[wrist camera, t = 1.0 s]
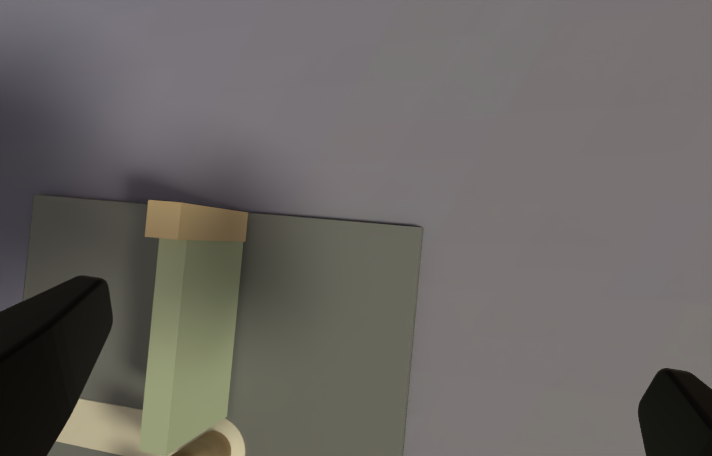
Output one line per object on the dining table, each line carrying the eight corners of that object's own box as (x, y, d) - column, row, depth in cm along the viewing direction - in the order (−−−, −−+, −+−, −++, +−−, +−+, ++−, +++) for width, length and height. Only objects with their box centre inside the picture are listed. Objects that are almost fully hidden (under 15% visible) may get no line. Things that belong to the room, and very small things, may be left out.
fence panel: (228, 416, 25) (156, 465, 20) (202, 412, 26) (123, 457, 20) (248, 212, 26) (181, 202, 20) (221, 210, 26) (148, 199, 20)
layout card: (377, 740, 24) (375, 750, 23) (-3, 619, 29) (-12, 625, 28) (423, 227, 24) (421, 227, 24) (39, 195, 29) (32, 194, 29)
